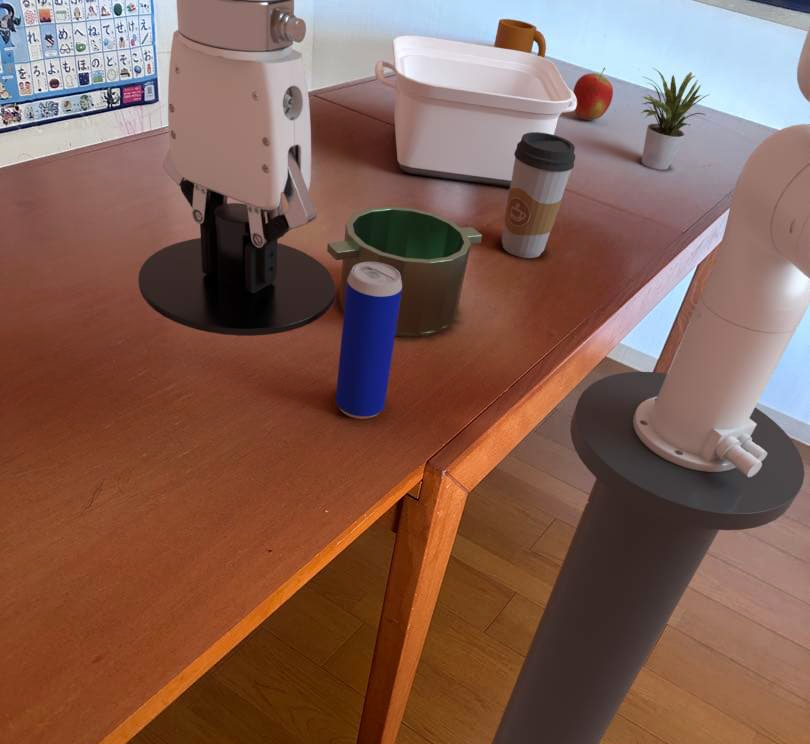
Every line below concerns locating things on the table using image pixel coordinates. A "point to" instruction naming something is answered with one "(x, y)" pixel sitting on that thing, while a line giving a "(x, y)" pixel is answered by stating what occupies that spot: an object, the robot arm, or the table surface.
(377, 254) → the cooker pot
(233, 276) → the lid
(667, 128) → the house plant
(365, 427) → the table surface
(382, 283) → the beverage can
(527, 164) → the coffee cup
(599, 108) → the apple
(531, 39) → the mug
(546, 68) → the white storage tub
